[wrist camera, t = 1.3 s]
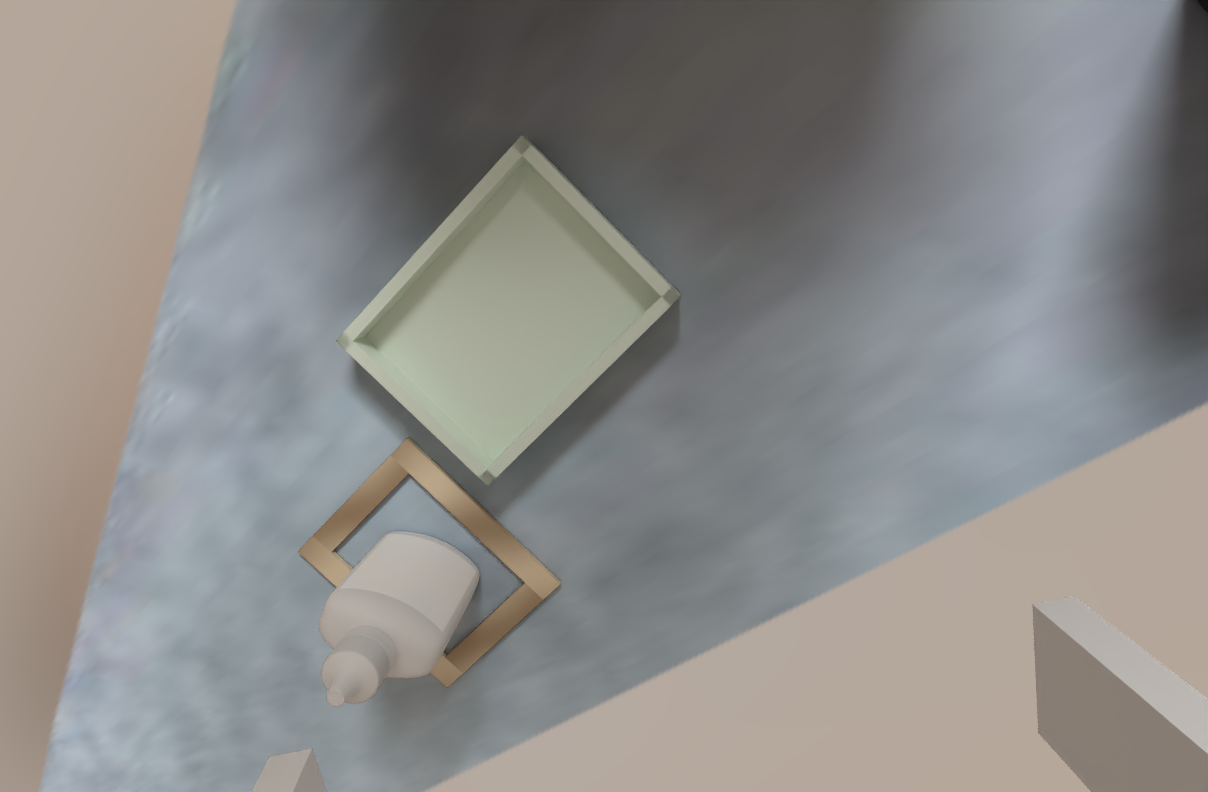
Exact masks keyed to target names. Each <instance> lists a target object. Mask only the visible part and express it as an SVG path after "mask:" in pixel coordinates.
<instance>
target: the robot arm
mask: <svg viewBox="0 0 1208 792" xmlns="http://www.w3.org/2000/svg"><path fill="white" fill-rule="evenodd" d="M1033 626H1034V646H1035V670H1036V692H1037V713H1038V733H1039V734H1040V735H1041V736H1042V737H1043V738H1044V740H1045V741H1046V742H1047V743H1048V744H1049V745H1050V746H1051V748H1052V749H1053V750H1054V751H1055V752H1056V753H1057V754H1058V755H1059V756H1060V758H1062V760H1063V761H1064V762H1065V763H1066V764H1067V765H1068V766H1069V767H1070V769H1071V770H1072V771H1073V772H1074V773H1075V774H1076V775H1077V776H1078V777H1079V779H1081V781H1082V782H1083V783H1084V784H1085V785H1086V786H1087V787H1088V789H1089V790H1090V791H1091V792H1208V699H1207V698H1206V697H1204V696H1203V695H1202V694H1201V693H1199V692H1198V691H1197V690H1196V689H1194V688H1193V687H1192V686H1190V685H1189V684H1188V683H1186V682H1185V681H1184V680H1182V679H1181V678H1180V677H1179V676H1177V675H1176V674H1175V673H1173V672H1172V671H1171V670H1170V669H1168V668H1167V667H1166V666H1164V665H1163V664H1162V663H1160V662H1159V661H1158V660H1156V659H1155V658H1154V657H1153V656H1151V655H1150V654H1149V653H1147V652H1146V651H1145V650H1143V649H1142V648H1141V647H1140V646H1138V645H1137V644H1136V643H1134V642H1133V641H1132V640H1131V639H1129V638H1128V637H1127V636H1125V635H1124V634H1123V633H1121V632H1120V631H1119V630H1118V629H1116V628H1115V627H1114V626H1112V625H1111V624H1110V623H1108V622H1107V621H1106V620H1105V619H1103V618H1102V617H1101V616H1099V615H1098V614H1097V613H1095V612H1094V611H1093V610H1092V609H1090V608H1088V606H1086V605H1085V604H1084V603H1082V602H1081V601H1080V600H1079V599H1077V598H1076V597H1075V596H1072V597H1067V598H1062V599H1057V600H1052V601H1047V602H1042V603H1037V604H1033ZM252 792H326V789H325V786H324V783H323V780H322V777H321V774H320V771H319V768H318V765H317V762H316V759H315V756H314V753H313V750H312V748H311V749H306V750H301V751H296V752H291V753H286V754H281V755H276V756H271V757H269V759H268V761H267V763H266V765H265V766H264V768H263V770H262V772H261V774H260V776H259V778H258V780H257V782H256V784H255V786H254V788H253V790H252Z"/></svg>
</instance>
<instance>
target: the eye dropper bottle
mask: <svg viewBox="0 0 1208 792" xmlns="http://www.w3.org/2000/svg"><path fill="white" fill-rule="evenodd" d="M479 577H480V573H479V570H478V568H477V566H476V565H475V564H474V563H473V562H472V561H471V560H470V559H469V558H468V557H466V556H465V555H464V554H463V553H461V552H460V551H459V550H457V549H456V548H454V547H453V546H451V545H449V544H447V543H445V542H443V541H441V540H439V539H437V538H434V537H431V536H428V535H424V534H419V533H414V532H405V531H395V532H390V533H387V534H385V535H384V536H383V537H382V538H381V539H380V540H379V541H378V542H377V543H376V545H375V546H374V547H373V548H372V549H371V550H370V551H369V552H368V553H367V554H366V555H365V556H364V558H363V559H362V560H361V561H360V562H359V563H358V564H357V565H356V566H355V567H354V569H353V570H352V571H351V572H350V573H349V574H348V575H347V576H346V577H345V578H344V580H343V581H342V582H341V583H340V584H339V585H338V587H337V588H336V589H335V590H334V591H333V592H332V594H331V595H330V596H329V598H328V599H327V602H326V604H325V606H324V609H323V612H322V615H321V618H320V621H319V631H320V633H321V635H322V637H323V639H324V640H325V641H326V642H327V644H328V645H329V646H330V647H331V648H332V649H333V651H332V652H331V653H330V655H329V656H328V657H327V658H326V660H325V662H324V664H323V667H322V671H321V672H322V674H321V675H322V680H323V683H324V686H325V688H326V689H327V691H328V693H327V701H328V702H329V704H331V705H333V706H340V705H342V704H343V703H344V702H346V703H353V704H354V703H356V704H357V703H361V702H365V701H366V700H369V699H371V697H373V696H374V695H375V693H376V692H377V691H378V689H379V687H380V686H381V684H382V683H383V681H384V679H385V678H386V677H389V678H417V677H422V676H425V675H427V674H429V673H430V672H431V671H432V670H433V668H434V667H435V666H436V664H437V662H438V661H439V659H440V657H441V655H442V654H443V652H444V650H445V648H446V646H447V644H448V642H449V641H450V639H451V637H452V635H453V633H454V631H455V629H456V627H457V626H458V624H459V622H460V620H461V618H462V616H463V614H464V612H465V610H466V609H467V607H468V605H469V603H470V601H471V599H472V596H473V594H474V592H475V589H476V587H477V584H478V582H479Z"/></svg>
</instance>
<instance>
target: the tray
mask: <svg viewBox="0 0 1208 792" xmlns="http://www.w3.org/2000/svg"><path fill="white" fill-rule="evenodd" d="M679 298H680V293H679V292H678V291H677V290H676V289H675V288H674V287H673V285H672V284H671V283H670V282H669V281H668V280H667V279H666V278H665V277H664V276H663V275H662V274H661V273H660V272H659V271H658V270H657V269H656V268H655V267H654V266H653V265H652V264H651V263H650V262H649V261H648V260H647V259H646V258H645V257H644V256H643V255H642V254H641V253H640V252H639V251H638V250H637V249H636V248H635V247H634V246H633V245H632V244H631V243H630V242H629V241H628V240H627V239H626V238H625V237H624V236H623V235H622V234H621V233H620V232H619V231H618V229H617V228H616V227H615V226H614V225H613V224H612V223H611V222H610V221H609V220H608V219H607V218H606V217H605V216H604V215H603V214H602V213H601V212H600V211H599V210H598V209H597V208H596V207H595V206H594V205H593V204H592V203H591V202H590V201H589V200H588V199H587V198H586V197H585V196H584V195H583V194H582V193H581V192H580V191H579V190H578V189H577V188H576V187H575V186H574V185H573V184H572V183H571V182H570V181H569V180H568V179H567V178H566V177H565V176H564V174H563V173H562V172H561V171H560V170H559V169H558V168H557V167H556V166H555V165H554V164H553V163H552V162H551V161H550V160H549V159H548V158H547V157H546V156H545V155H544V154H543V153H542V152H541V151H540V150H539V149H538V148H537V147H536V146H535V145H534V144H533V143H532V142H531V141H530V140H528V139H527V138H525V137H524V136H522V135H521V136H520V137H519V139H518V140H517V141H516V142H515V143H514V144H513V145H512V146H511V147H510V148H509V150H508V151H507V152H506V153H505V154H504V155H503V156H502V157H501V158H500V160H499V161H498V162H497V163H496V164H495V165H494V166H493V167H492V168H491V169H490V171H489V172H488V173H487V174H486V175H485V176H484V177H483V178H482V179H481V181H480V182H479V183H478V184H477V185H476V186H475V187H474V188H473V189H472V191H471V192H470V193H469V194H468V195H467V196H466V197H465V198H464V199H463V200H462V202H461V203H460V204H459V205H458V206H457V207H456V208H455V209H454V210H453V212H452V213H451V214H450V215H449V216H448V217H447V218H446V219H445V220H444V222H443V223H442V224H441V225H440V226H439V227H438V228H437V229H436V230H435V231H434V233H433V234H432V235H431V236H430V237H429V238H428V239H427V240H426V241H425V243H424V244H423V245H422V246H421V247H420V248H419V249H418V250H417V251H416V252H415V254H414V255H413V256H412V257H411V258H410V259H409V260H408V261H407V262H406V264H405V265H404V266H403V267H402V268H401V269H400V270H399V271H398V272H397V274H396V275H395V276H394V277H393V278H392V279H391V280H390V281H389V282H388V283H387V285H386V286H385V287H384V288H383V289H382V290H381V291H380V292H379V293H378V295H377V296H376V297H375V298H374V299H373V300H372V301H371V302H370V303H369V304H368V306H367V307H366V308H365V309H364V310H363V311H362V312H361V313H360V314H359V316H358V317H357V318H356V319H355V320H354V321H353V322H352V323H351V324H350V326H349V327H348V328H347V329H346V330H345V331H344V332H343V333H342V334H341V335H340V337H339V338H338V339H337V340H336V342H337V343H338V344H339V345H340V346H341V347H342V348H343V349H344V350H345V351H346V352H347V353H349V354H350V355H351V356H352V357H353V358H354V359H355V360H356V361H357V362H358V363H359V364H360V365H361V366H362V367H363V368H364V369H365V370H366V371H367V372H368V373H370V374H371V375H372V376H373V377H374V378H375V379H376V380H377V381H378V382H379V383H380V384H381V385H382V386H383V387H384V388H385V389H386V390H387V391H388V392H389V393H390V394H392V395H393V396H394V397H395V398H396V399H397V400H398V401H399V402H400V403H401V404H402V405H403V406H404V407H405V408H406V409H407V410H408V411H409V412H410V413H411V414H413V415H414V416H415V417H416V418H417V419H418V420H419V421H420V422H421V423H422V424H423V425H424V426H425V427H426V428H427V429H428V430H429V431H430V432H431V433H432V434H433V435H435V436H436V437H437V438H438V439H439V440H440V441H441V442H442V443H443V444H444V445H445V446H446V447H447V448H448V449H449V450H450V451H451V452H452V453H453V454H454V455H456V456H457V457H458V458H459V459H460V460H461V461H462V462H463V463H464V464H465V465H466V466H467V467H468V468H469V469H470V470H471V471H472V472H473V473H474V474H475V475H476V476H478V477H479V478H480V479H481V480H482V481H483V482H484V483H485V484H486V485H487V486H488V485H489V484H490V483H491V482H492V481H493V480H494V479H495V478H497V477H498V476H499V475H500V474H501V473H502V472H503V471H504V470H505V469H506V468H507V467H508V466H509V465H510V464H511V463H512V462H513V461H514V460H515V459H516V458H517V457H518V456H519V455H520V454H521V453H522V452H523V451H524V450H525V449H526V448H527V447H528V446H529V445H530V444H531V443H532V442H533V441H534V440H535V439H536V438H537V437H538V436H539V435H540V434H541V433H542V432H543V431H544V430H545V429H546V428H547V427H548V426H549V425H550V424H551V423H552V422H553V421H554V420H556V419H557V418H558V417H559V416H560V415H561V414H562V413H563V412H564V411H565V410H566V409H567V408H568V407H569V406H570V405H571V404H572V403H573V402H574V401H575V400H576V399H577V398H578V397H579V396H580V395H581V394H582V393H583V392H584V391H585V390H586V389H587V388H588V387H589V386H590V385H591V384H592V383H593V382H594V381H595V380H596V379H597V378H598V377H599V376H600V375H601V374H602V373H603V372H604V371H605V370H606V369H607V368H608V367H609V366H610V365H611V364H612V363H613V362H615V361H616V360H617V359H618V358H619V357H620V356H621V355H622V354H623V353H624V352H625V351H626V350H627V349H628V348H629V347H630V346H631V345H632V344H633V343H634V342H635V341H636V340H637V339H638V338H639V337H640V336H641V335H642V334H643V333H644V332H645V331H646V330H647V329H648V328H649V327H650V326H651V325H652V324H653V323H654V322H655V321H656V320H657V319H658V318H659V317H660V316H661V315H662V314H663V313H664V312H665V311H666V310H667V309H668V308H669V307H670V306H671V305H673V304H674V303H675V302H676V301H677V300H678V299H679Z"/></svg>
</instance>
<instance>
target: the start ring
mask: <svg viewBox="0 0 1208 792" xmlns="http://www.w3.org/2000/svg"><path fill="white" fill-rule="evenodd" d="M408 474H410V475H411V476H412V477H414V478H415V479H416V480H417V481H418V482H419V483H420V484H421V485H422V486H423V487H424V488H425V489H426V490H427V491H428V492H429V493H431V494H432V495H433V496H434V497H435V498H436V499H437V500H438V501H439V502H440V503H441V504H442V505H443V506H444V507H445V508H446V509H447V510H449V511H450V512H451V513H452V514H453V515H454V516H455V517H456V518H457V519H458V520H459V521H460V522H461V523H462V524H463V525H464V526H465V527H467V528H468V529H469V530H470V531H471V532H472V533H473V534H474V535H475V536H476V537H477V538H478V539H479V540H480V541H481V542H482V543H484V544H485V545H486V546H487V547H488V548H489V549H490V550H491V551H492V552H493V553H494V554H495V555H496V556H497V557H498V558H499V559H500V560H502V561H503V562H504V563H505V564H506V565H507V566H508V567H509V568H510V569H511V570H512V571H513V572H514V573H515V574H516V575H517V576H518V577H520V578H521V579H522V580H523V581H524V582H525V583H523V584H522V585H521V586H520V587H519V588H518V589H517V590H516V591H515V592H514V593H513V594H512V595H511V596H510V597H508V598H507V599H506V600H505V601H504V602H503V603H502V604H501V605H500V606H499V607H498V608H497V609H496V610H494V611H493V612H492V613H491V614H490V615H489V616H488V617H487V618H486V619H485V620H484V621H483V622H482V623H481V624H479V625H478V626H477V627H476V628H475V629H474V630H473V631H472V632H471V633H470V634H469V635H468V636H467V637H465V638H464V639H463V640H462V641H461V642H460V643H459V644H458V645H457V646H456V647H455V648H454V649H453V650H452V651H450V652H449V653H448V654H446V653H445V652H443V654H442V655H441V657H440V659H439V661H438V662H437V664H436V666H435V667H434V668H433V670H432V671H431V672H430V673H431V674H432V675H433V676H434V677H435V678H437V679H438V680H439V681H440V682H441V683H442V684H443V685H444V686H445V687H446V688H448V687H449V686H450V685H451V684H452V683H453V682H454V681H455V680H456V679H457V678H459V677H460V676H461V675H462V674H463V673H464V672H465V671H466V670H467V669H468V668H469V667H471V666H472V665H473V664H474V663H475V662H476V661H477V660H478V659H479V658H480V657H481V656H483V655H484V654H485V653H486V652H487V651H488V650H489V649H490V648H491V647H492V646H493V645H495V644H496V643H497V642H498V641H499V640H500V639H501V638H502V637H503V636H504V635H505V634H506V633H508V632H509V631H510V630H511V629H512V628H513V627H514V626H515V625H516V624H517V623H518V622H520V621H521V620H522V619H523V618H524V617H525V616H526V615H527V614H528V613H529V612H530V611H532V610H533V609H534V608H535V607H536V606H537V605H538V604H539V603H540V602H541V601H542V600H544V599H545V598H546V597H547V596H548V595H549V594H550V593H551V592H552V591H553V590H554V589H556V588H557V587H558V586H559V585H560V583H561V581H560V580H559V579H558V578H557V577H555V576H554V575H553V574H552V573H551V572H550V571H549V570H548V569H547V568H546V567H545V566H544V565H543V564H542V563H541V562H540V561H539V560H538V559H537V558H535V557H534V556H533V555H532V554H531V553H530V552H529V551H528V550H527V549H526V548H525V547H524V546H523V545H522V544H521V543H520V542H519V541H518V540H516V539H515V538H514V537H513V536H512V535H511V534H510V533H509V532H508V531H507V530H506V529H505V528H504V527H503V526H502V525H501V524H500V523H499V522H498V521H496V520H495V519H494V518H493V517H492V516H491V515H490V514H489V513H488V512H487V511H486V510H485V509H484V508H483V507H482V506H481V505H480V504H479V503H478V502H476V501H475V500H474V499H473V498H472V497H471V496H470V495H469V494H468V493H467V492H466V491H465V490H464V489H463V488H462V487H461V486H460V485H459V484H457V483H456V482H455V481H454V480H453V479H452V478H451V477H450V476H449V475H448V474H447V473H446V472H445V471H444V470H443V469H442V468H441V467H440V466H439V465H437V464H436V463H435V462H434V461H433V460H432V459H431V458H430V457H429V456H428V455H427V454H426V453H425V452H424V451H423V450H422V449H421V448H420V447H418V446H417V445H416V444H415V443H414V442H413V441H412V440H411V439H410V438H409V437H408V438H407V439H406V440H405V441H404V442H403V443H402V444H401V445H400V446H399V447H398V448H397V449H396V450H395V451H394V452H393V454H392V455H391V456H390V457H389V458H388V459H387V460H386V461H385V462H384V463H383V464H382V465H381V466H380V467H379V468H378V469H377V470H376V471H375V472H374V473H373V474H372V475H371V476H370V477H369V478H368V479H367V480H366V481H365V482H364V484H363V485H362V486H361V487H360V488H359V489H358V490H357V491H356V492H355V493H354V494H353V495H352V496H351V497H350V498H349V499H348V500H347V501H346V502H345V503H344V504H343V505H342V506H341V507H340V508H339V509H338V510H337V511H336V513H335V514H334V515H333V516H332V517H331V518H330V519H329V520H328V521H327V522H326V523H325V524H324V525H323V526H322V527H321V528H320V529H319V530H318V531H317V532H316V533H315V534H314V535H313V536H312V537H311V538H310V539H309V540H308V541H307V543H306V544H305V545H304V546H303V547H302V548H301V549H300V550H299V551H298V552H299V553H300V554H301V555H302V556H303V557H304V558H305V559H306V560H307V561H309V562H310V563H311V564H312V565H313V566H314V567H315V568H316V569H317V570H318V571H319V572H321V573H322V574H323V575H324V576H325V577H326V578H327V579H328V580H329V581H330V582H332V583H333V584H334V585H335V586H336V587H338V585H339V584H340V583H341V582H342V581H343V580H344V578H345V577H346V576H347V575H348V574H349V573H350V572H351V571H352V570H353V568H352V567H351V566H350V565H349V564H348V563H347V562H346V561H344V560H343V559H342V558H341V557H340V556H339V555H338V554H337V553H336V552H335V551H334V549H335V548H336V547H337V546H338V545H339V544H340V543H341V542H342V541H343V540H344V539H345V538H346V537H347V536H348V535H349V534H350V533H351V532H352V531H353V530H354V529H355V528H356V527H357V526H358V525H359V524H360V523H361V522H362V521H363V520H364V519H365V517H366V516H367V515H368V514H369V513H370V512H371V511H372V510H373V509H374V508H375V507H376V506H377V505H378V504H379V503H380V502H381V501H382V500H383V499H384V498H385V497H386V496H387V495H388V494H389V493H390V492H391V491H392V490H393V489H394V488H395V487H396V486H397V485H398V484H399V483H400V482H401V481H402V480H403V479H404V478H405V477H406V476H407V475H408Z"/></svg>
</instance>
